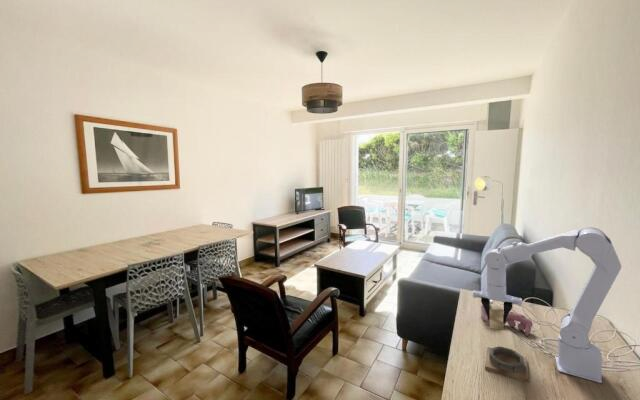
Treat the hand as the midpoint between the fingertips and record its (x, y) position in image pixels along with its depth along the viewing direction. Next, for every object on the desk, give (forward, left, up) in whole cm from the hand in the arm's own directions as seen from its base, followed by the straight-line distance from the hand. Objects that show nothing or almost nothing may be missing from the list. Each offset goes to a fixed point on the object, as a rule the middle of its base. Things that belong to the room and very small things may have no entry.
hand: (496, 319), depth 96 cm
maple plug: (0, 0, -2) cm, 2 cm away
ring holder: (-3, +11, -9) cm, 14 cm away
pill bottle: (+4, -17, -9) cm, 20 cm away
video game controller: (-6, -14, -9) cm, 17 cm away
